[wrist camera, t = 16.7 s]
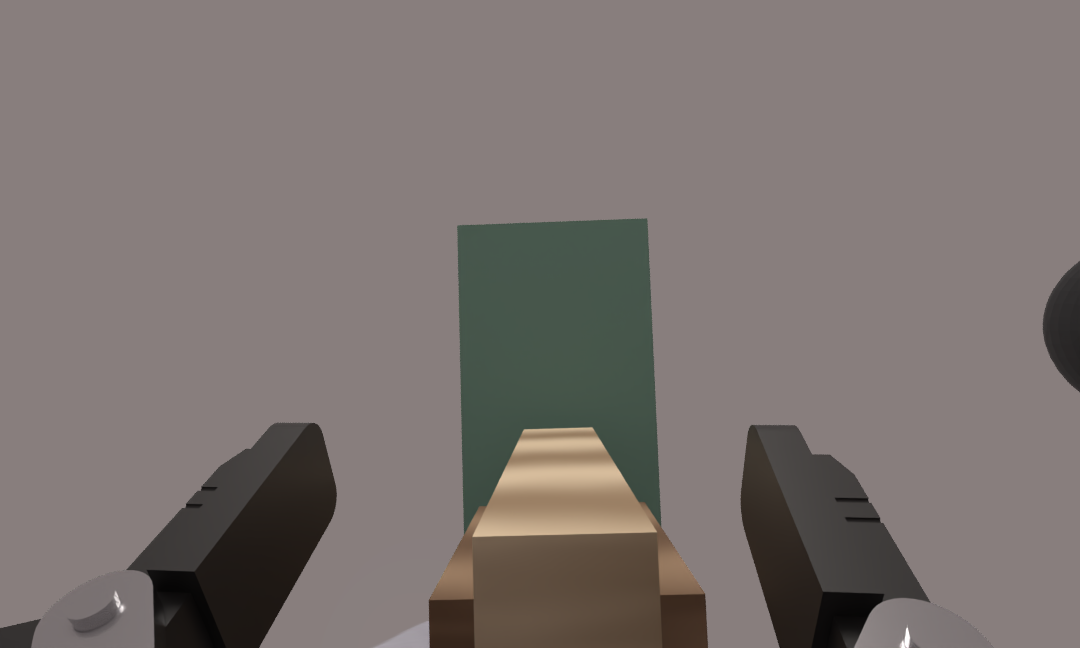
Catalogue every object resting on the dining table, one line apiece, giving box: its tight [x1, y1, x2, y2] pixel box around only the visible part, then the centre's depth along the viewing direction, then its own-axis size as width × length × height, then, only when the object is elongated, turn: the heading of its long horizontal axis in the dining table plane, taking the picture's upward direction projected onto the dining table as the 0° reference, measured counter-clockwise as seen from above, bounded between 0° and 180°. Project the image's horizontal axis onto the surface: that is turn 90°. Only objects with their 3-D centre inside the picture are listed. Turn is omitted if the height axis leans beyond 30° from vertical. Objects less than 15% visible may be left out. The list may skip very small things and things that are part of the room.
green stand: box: [457, 219, 661, 534], centre depth 39 cm, size 12×11×36 cm
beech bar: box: [472, 427, 662, 648], centre depth 20 cm, size 19×4×4 cm, turn 179°
